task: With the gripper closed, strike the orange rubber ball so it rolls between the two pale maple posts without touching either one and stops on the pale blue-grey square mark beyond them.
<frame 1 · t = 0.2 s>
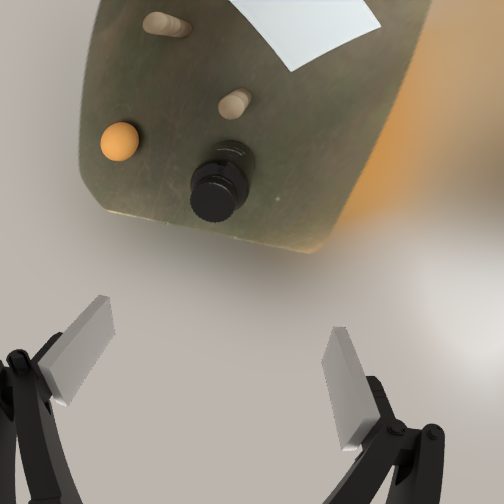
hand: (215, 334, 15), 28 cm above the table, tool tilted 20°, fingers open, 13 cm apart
ball: (119, 141, 33), on the table
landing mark: (304, 3, 23), on the table
supplement bottle: (230, 161, 38), on the table
post 2: (241, 97, 32), on the table
post 1: (182, 29, 26), on the table
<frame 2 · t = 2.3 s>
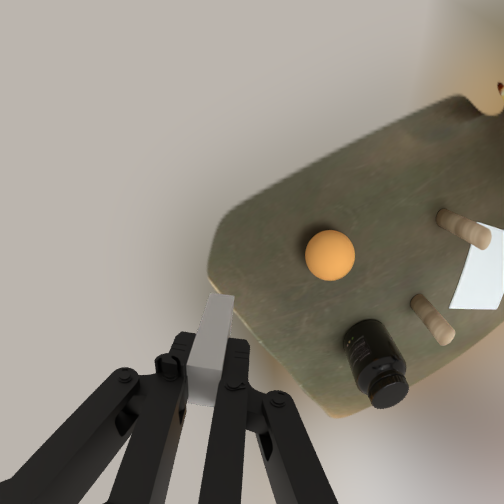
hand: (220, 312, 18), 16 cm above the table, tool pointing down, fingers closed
ball: (330, 255, 30), on the table
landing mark: (489, 270, 33), on the table
supplement bottle: (364, 336, 37), on the table
post 2: (417, 301, 35), on the table
post 1: (443, 217, 31), on the table
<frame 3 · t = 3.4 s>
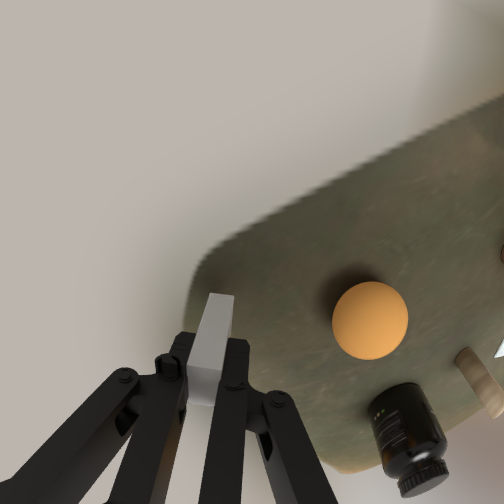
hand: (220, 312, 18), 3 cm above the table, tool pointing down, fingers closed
ball: (370, 320, 18), on the table
supplement bottle: (394, 400, 25), on the table
post 2: (463, 356, 23), on the table
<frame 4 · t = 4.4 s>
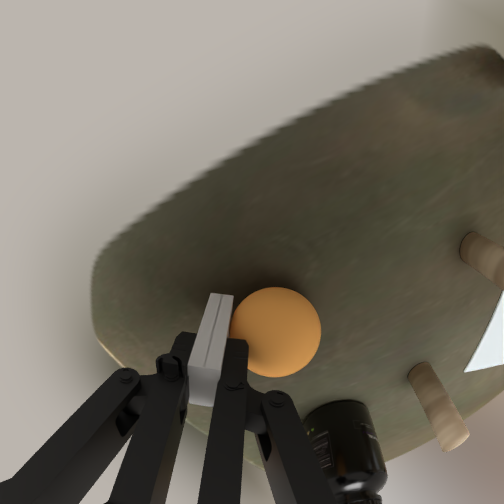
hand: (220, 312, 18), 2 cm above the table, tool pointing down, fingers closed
ball: (275, 332, 17), on the table, touching gripper
supplement bottle: (335, 417, 24), on the table
post 2: (419, 372, 21), on the table
post 1: (470, 247, 17), on the table
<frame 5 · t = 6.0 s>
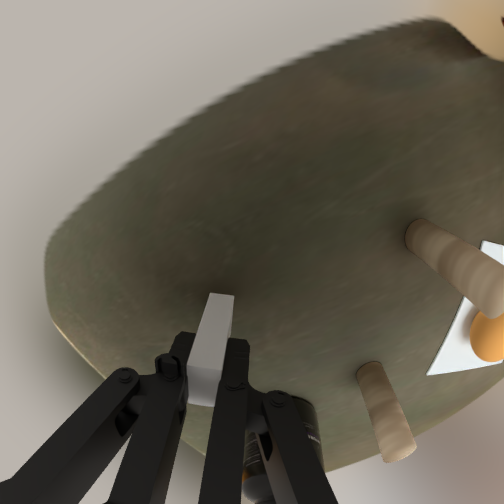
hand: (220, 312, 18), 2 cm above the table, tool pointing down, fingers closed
ball: (495, 332, 17), on the table
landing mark: (497, 314, 20), on the table
supplement bottle: (280, 413, 24), on the table
post 2: (369, 372, 22), on the table
post 1: (419, 236, 17), on the table
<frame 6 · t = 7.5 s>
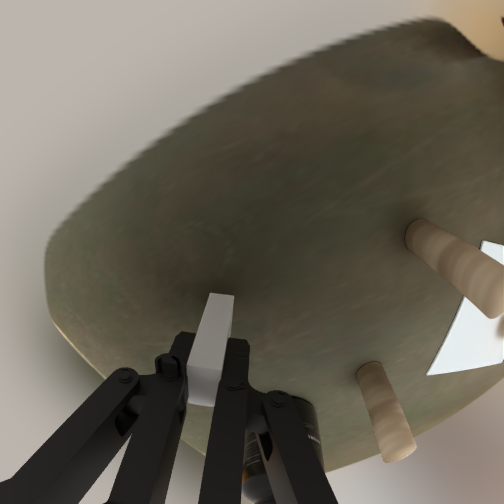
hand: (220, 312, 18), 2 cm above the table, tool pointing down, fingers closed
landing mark: (497, 314, 20), on the table
supplement bottle: (280, 413, 24), on the table
post 2: (369, 372, 22), on the table
post 1: (419, 236, 17), on the table
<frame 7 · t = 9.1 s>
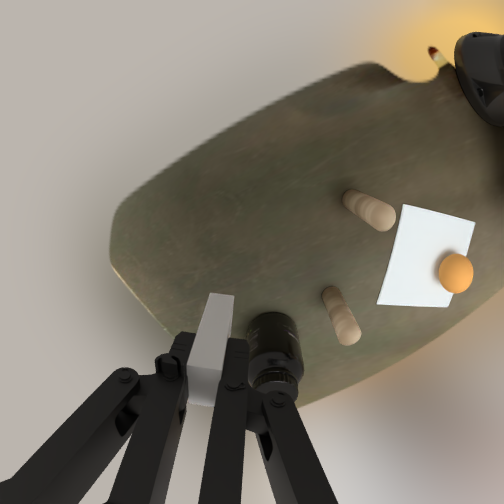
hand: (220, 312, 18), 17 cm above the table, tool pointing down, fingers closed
ball: (456, 273, 31), on the table
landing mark: (430, 261, 34), on the table
supplement bottle: (271, 330, 38), on the table
post 2: (331, 295, 35), on the table
post 1: (352, 199, 31), on the table
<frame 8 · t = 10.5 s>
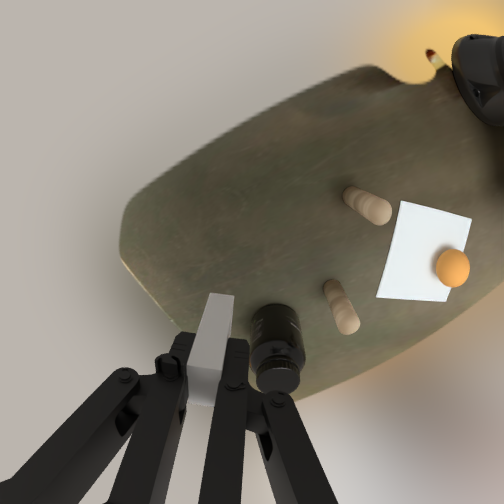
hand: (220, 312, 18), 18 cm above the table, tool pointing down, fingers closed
ball: (452, 268, 33), on the table
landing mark: (427, 256, 35), on the table
supplement bottle: (275, 322, 39), on the table
post 2: (332, 287, 37), on the table
post 1: (351, 196, 33), on the table
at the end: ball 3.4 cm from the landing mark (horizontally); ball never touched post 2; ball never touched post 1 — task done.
